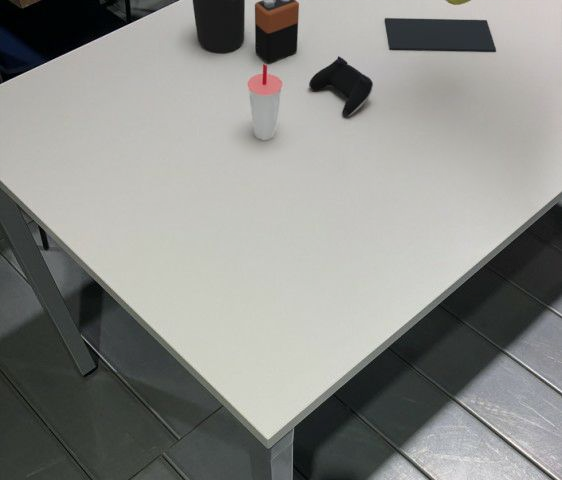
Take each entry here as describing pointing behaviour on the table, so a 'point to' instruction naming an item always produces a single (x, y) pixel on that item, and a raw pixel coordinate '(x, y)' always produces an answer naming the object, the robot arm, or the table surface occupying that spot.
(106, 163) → the table surface
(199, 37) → the pen holder
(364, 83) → the gaming controller
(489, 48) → the mat
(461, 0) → the fruit
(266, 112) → the cup
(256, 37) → the battery
